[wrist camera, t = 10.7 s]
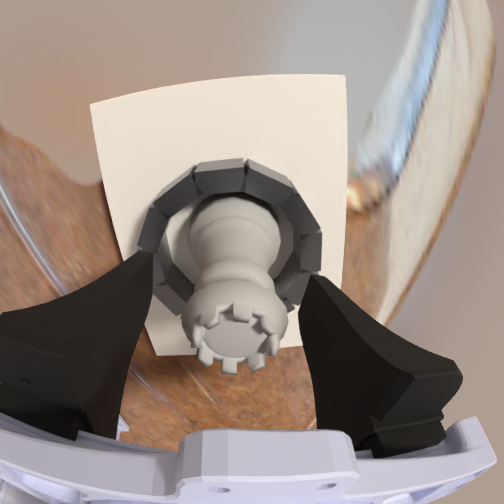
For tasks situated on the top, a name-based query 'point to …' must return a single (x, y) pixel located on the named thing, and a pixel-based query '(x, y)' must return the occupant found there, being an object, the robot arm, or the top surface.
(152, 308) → the mount plate
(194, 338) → the rook chess piece
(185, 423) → the top surface
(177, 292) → the segmented grey ring
